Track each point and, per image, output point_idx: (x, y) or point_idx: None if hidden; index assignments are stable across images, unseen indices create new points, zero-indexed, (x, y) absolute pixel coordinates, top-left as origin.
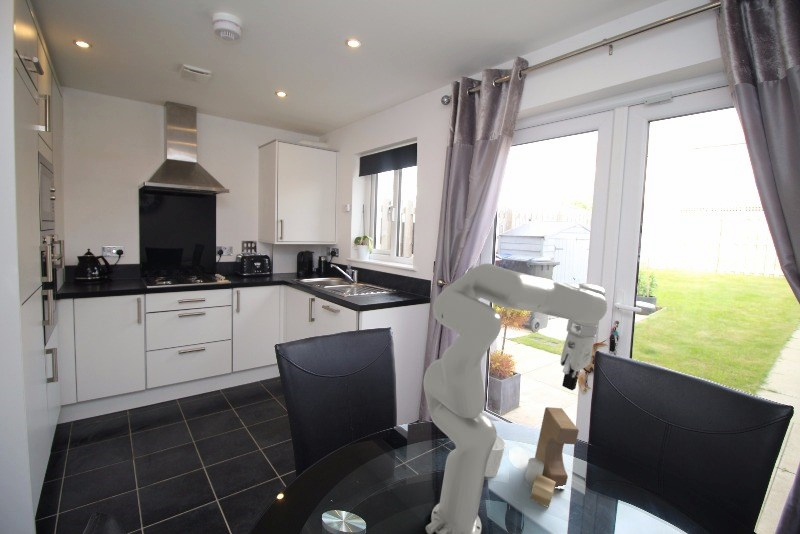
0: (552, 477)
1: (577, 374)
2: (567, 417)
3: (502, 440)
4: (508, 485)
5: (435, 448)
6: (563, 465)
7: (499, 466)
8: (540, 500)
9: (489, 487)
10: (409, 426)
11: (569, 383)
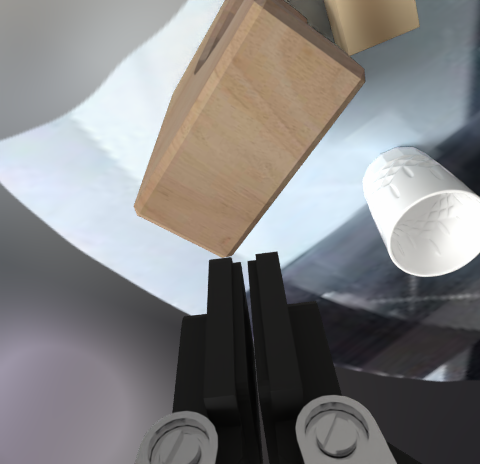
0: (300, 14)
1: (211, 444)
2: (197, 135)
3: (397, 221)
4: (402, 98)
5: (443, 296)
6: (222, 22)
7: (399, 159)
8: None
9: (461, 122)
10: (425, 373)
11: (323, 339)
